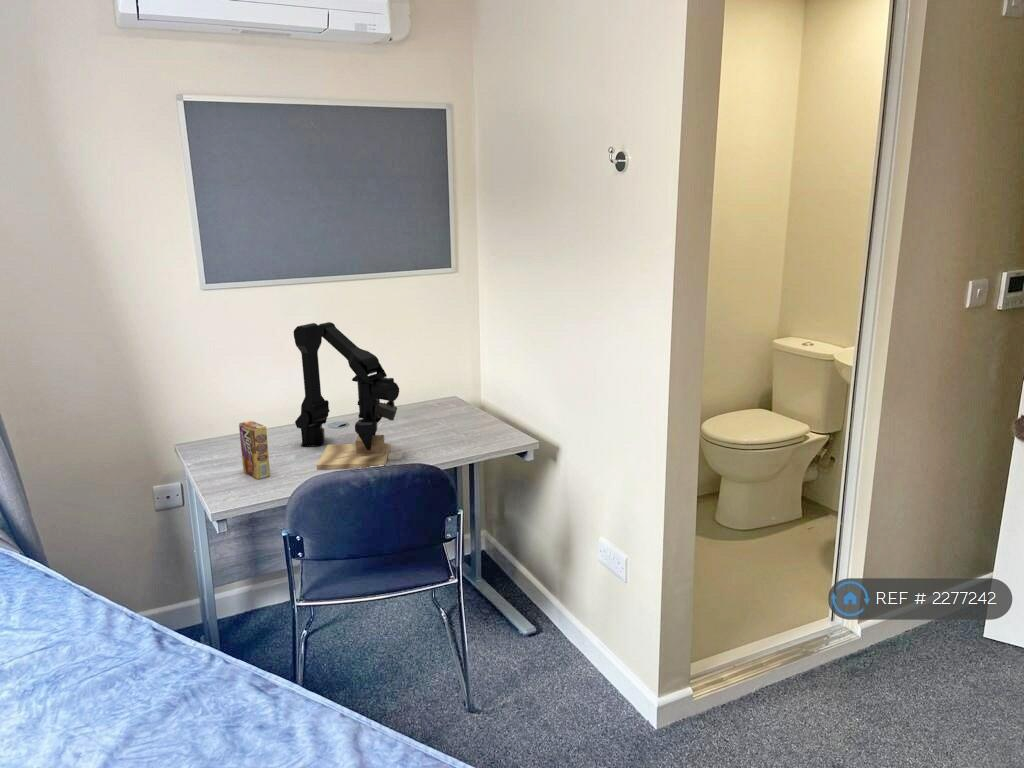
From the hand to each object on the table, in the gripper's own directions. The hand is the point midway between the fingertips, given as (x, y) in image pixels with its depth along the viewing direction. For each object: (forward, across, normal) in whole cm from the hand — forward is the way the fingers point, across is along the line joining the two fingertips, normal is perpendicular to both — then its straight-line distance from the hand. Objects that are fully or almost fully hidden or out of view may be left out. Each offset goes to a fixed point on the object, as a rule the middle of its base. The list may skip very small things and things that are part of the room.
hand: (370, 444), depth 231 cm
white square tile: (+5, 0, -7) cm, 9 cm away
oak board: (+4, 0, +5) cm, 7 cm away
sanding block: (+3, 0, 0) cm, 3 cm away
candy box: (+4, -11, +32) cm, 34 cm away
